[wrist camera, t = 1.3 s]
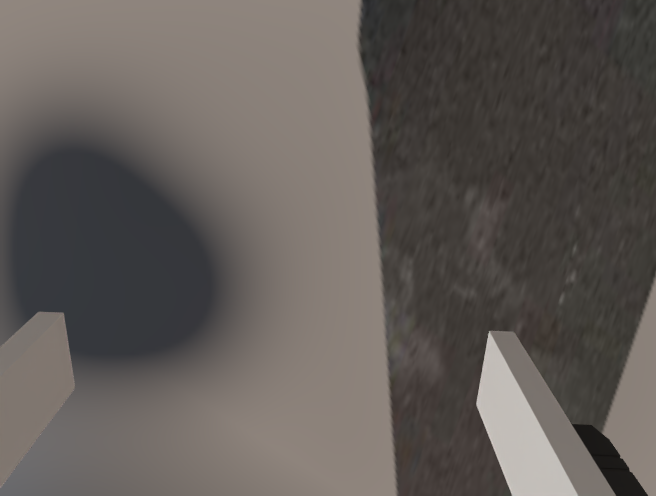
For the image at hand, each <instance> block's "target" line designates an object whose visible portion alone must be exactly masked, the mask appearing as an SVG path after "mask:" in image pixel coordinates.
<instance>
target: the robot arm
mask: <svg viewBox="0 0 656 496" xmlns="http://www.w3.org/2000/svg"><path fill="white" fill-rule="evenodd" d="M74 389H75V384H74V377H73V371H72V365H71V357H70V351H69V344H68V338H67V332H66V326H65V319H64V313H53V312H38V313H37V314H36V315H35V316H34V317H33V318H31V319H30V320H29V321H28V322H27V323H26V324H25V325H24V326H23V327H22V328H20V329H19V330H18V331H17V332H16V333H15V334H14V335H13V336H12V337H11V338H10V339H9V340H7V341H6V342H5V343H4V344H3V345H2V346H1V347H0V488H1V487H2V485H3V484H4V483H5V481H6V480H7V479H8V477H9V476H10V475H11V473H12V472H13V471H14V469H15V468H16V467H17V465H18V464H19V462H20V461H21V460H22V459H23V457H24V456H25V455H26V453H27V452H28V451H29V449H30V448H31V446H32V445H33V444H34V442H35V441H36V440H37V438H38V437H39V436H40V434H41V433H42V432H43V430H44V429H45V428H46V426H47V425H48V424H49V422H50V421H51V419H52V418H53V417H54V416H55V414H56V413H57V412H58V410H59V409H60V408H61V406H62V405H63V404H64V402H65V401H66V400H67V398H68V397H69V395H70V394H71V393H72V392H73V390H74ZM476 405H477V407H478V410H479V412H480V415H481V417H482V420H483V423H484V425H485V428H486V430H487V433H488V435H489V438H490V440H491V443H492V445H493V448H494V450H495V453H496V455H497V458H498V460H499V463H500V466H501V468H502V471H503V473H504V476H505V478H506V481H507V483H508V486H509V488H510V491H511V493H512V496H648V495H647V494H646V492H645V491H644V489H643V488H642V486H641V485H640V483H639V482H638V480H637V479H636V478H635V476H634V475H633V473H631V472H630V471H629V468H628V466H627V465H626V463H625V462H624V460H623V459H621V458H620V455H619V453H618V452H617V450H616V449H615V447H614V446H613V444H612V443H611V442H610V440H609V439H608V438H606V437H605V436H604V435H603V434H602V433H600V432H599V431H598V430H597V429H595V428H594V427H593V426H592V425H578V424H571V423H570V421H569V420H568V418H567V416H566V415H565V413H564V412H563V410H562V408H561V407H560V405H559V404H558V402H557V400H556V399H555V397H554V395H553V394H552V392H551V391H550V389H549V387H548V386H547V384H546V383H545V381H544V379H543V378H542V376H541V375H540V373H539V371H538V370H537V368H536V367H535V365H534V363H533V362H532V360H531V359H530V357H529V355H528V354H527V352H526V351H525V349H524V347H523V346H522V344H521V343H520V341H519V339H518V338H517V336H516V335H515V333H514V332H504V331H489V335H488V340H487V346H486V352H485V358H484V363H483V369H482V375H481V381H480V386H479V392H478V398H477V403H476Z"/></svg>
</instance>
